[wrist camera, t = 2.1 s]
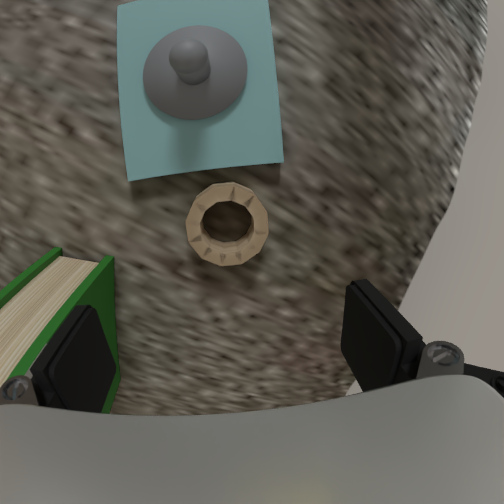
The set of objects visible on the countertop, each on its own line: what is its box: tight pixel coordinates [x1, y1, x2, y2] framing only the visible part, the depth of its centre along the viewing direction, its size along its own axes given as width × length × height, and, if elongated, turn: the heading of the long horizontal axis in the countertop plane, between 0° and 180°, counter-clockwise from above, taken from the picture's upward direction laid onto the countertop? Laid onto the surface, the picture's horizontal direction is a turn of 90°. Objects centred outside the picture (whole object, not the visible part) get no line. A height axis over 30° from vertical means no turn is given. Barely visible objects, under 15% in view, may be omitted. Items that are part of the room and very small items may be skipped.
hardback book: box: [0, 247, 121, 414], centre depth 20 cm, size 18×7×24 cm, turn 170°
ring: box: [185, 182, 269, 266], centre depth 27 cm, size 7×7×3 cm
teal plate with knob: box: [117, 0, 284, 181], centre depth 20 cm, size 14×18×8 cm
